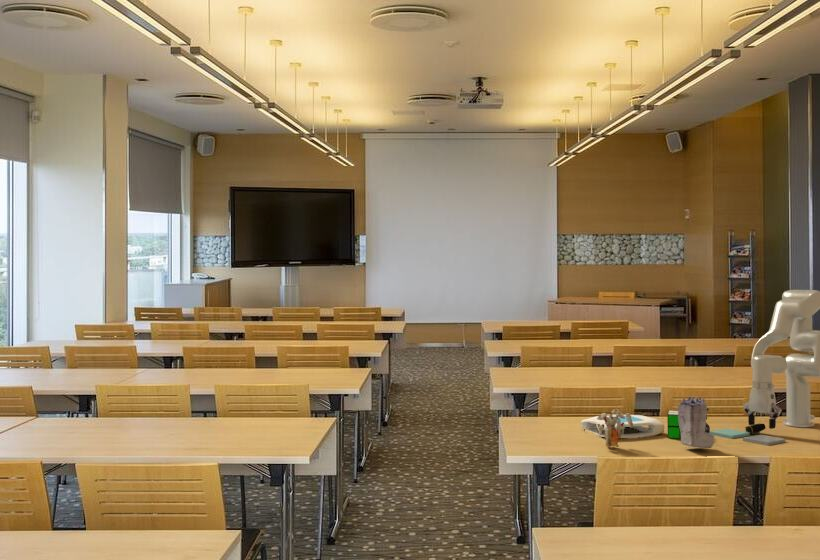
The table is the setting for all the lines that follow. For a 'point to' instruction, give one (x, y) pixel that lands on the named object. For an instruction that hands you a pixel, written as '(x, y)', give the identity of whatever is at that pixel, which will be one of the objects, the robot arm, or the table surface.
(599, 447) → the table surface
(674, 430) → the puzzle cube
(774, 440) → the slate board
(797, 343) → the robot arm
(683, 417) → the cell model
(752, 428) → the tape measure
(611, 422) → the voxel character
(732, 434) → the teal board
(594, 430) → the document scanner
